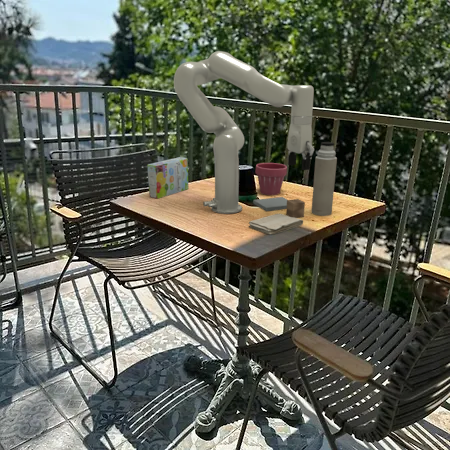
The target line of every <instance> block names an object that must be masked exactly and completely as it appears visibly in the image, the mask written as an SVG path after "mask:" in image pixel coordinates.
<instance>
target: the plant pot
mask: <svg viewBox="0 0 450 450" xmlns="http://www.w3.org/2000/svg"><path fill="white" fill-rule="evenodd" d="M287 173H288V167H287V165H286V164H284V163H283V164H282V163H279V162H278V163H274V162H260V163H257V164H256V165H255V174H256V175H257V179H258V180H257V181H258V186H259V192H260V194H261V195H265V196H277V195H279V194H280V193H281V191H282V186H283V183H284V179H285V176H287Z"/></svg>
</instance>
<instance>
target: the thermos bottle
mask: <svg viewBox="0 0 450 450" xmlns="http://www.w3.org/2000/svg"><path fill="white" fill-rule="evenodd" d="M334 146H335V142H331V141H324V142H323V141H321V143H320V149H319V150H318V151H317V156H315V159H314V160H315V162H314V173H313V174H314V175H313V188H312V199H311V214H313V215H315V216H321V217H322V216H323V217H325V216H331V215H332V213H333V202H334V194H335V191H334V190H335V184H336V183H335V182H336V174H337V172H336V171H337V163H338V162H337V160H338V158H337V157H336V154H337V153H336V151H335V150H334V148H335V147H334Z"/></svg>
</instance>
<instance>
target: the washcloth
mask: <svg viewBox="0 0 450 450" xmlns="http://www.w3.org/2000/svg"><path fill="white" fill-rule="evenodd" d="M303 223H304V220H303V219H301V218H293V217H289V216H288V215H286V214H282V213H275V214H272V215H268V216H264V217H261V218H258V219H254V220H250V221H249V222H248V224H249V225H248V228H251V229H252V230H255V231H258V232H260V233H263V234H266V235H271V236H272V235H276V234H279V233H283V232H286V231H288V230H291V229H295V228H297V227H300V226H302V225H303Z"/></svg>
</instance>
